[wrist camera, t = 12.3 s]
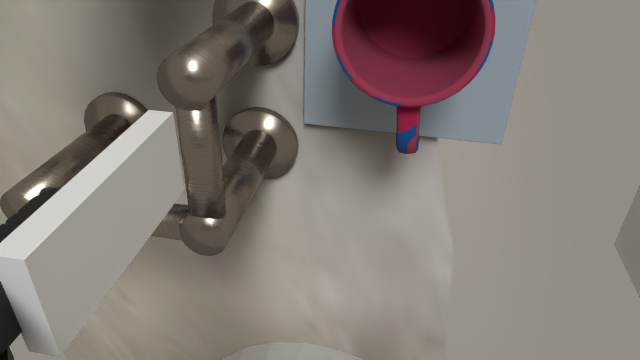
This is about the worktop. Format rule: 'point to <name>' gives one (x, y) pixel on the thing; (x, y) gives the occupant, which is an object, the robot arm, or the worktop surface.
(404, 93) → the mug
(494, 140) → the mat
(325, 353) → the dish
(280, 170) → the rail
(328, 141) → the worktop surface
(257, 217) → the worktop surface
